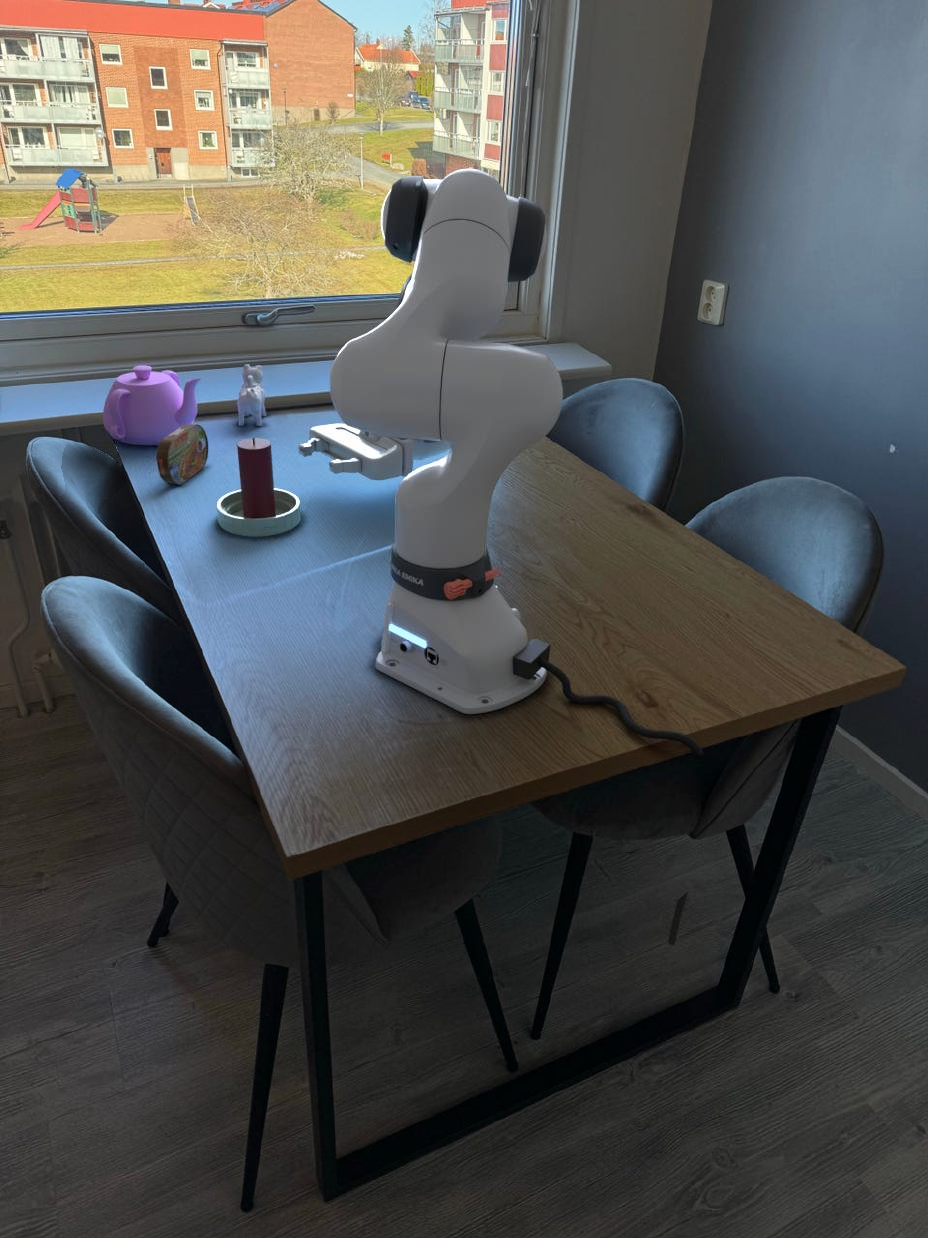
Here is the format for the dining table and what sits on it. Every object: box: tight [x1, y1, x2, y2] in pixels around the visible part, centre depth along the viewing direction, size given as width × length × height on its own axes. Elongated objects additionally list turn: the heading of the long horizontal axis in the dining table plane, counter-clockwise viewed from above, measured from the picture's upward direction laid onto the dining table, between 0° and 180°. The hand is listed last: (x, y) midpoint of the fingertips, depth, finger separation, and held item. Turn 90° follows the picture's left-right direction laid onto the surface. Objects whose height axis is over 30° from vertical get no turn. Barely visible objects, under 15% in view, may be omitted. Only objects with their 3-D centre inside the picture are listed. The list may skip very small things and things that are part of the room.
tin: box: [155, 423, 209, 485], centre depth 158 cm, size 15×3×8 cm, turn 168°
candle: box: [236, 437, 276, 519], centre depth 141 cm, size 5×5×14 cm
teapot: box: [102, 365, 202, 446], centre depth 172 cm, size 22×22×14 cm
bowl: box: [216, 487, 302, 538], centre depth 144 cm, size 13×13×3 cm
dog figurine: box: [236, 363, 267, 427], centre depth 186 cm, size 5×13×11 cm, turn 6°
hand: (315, 459), depth 147 cm, fingers open, 8 cm apart
